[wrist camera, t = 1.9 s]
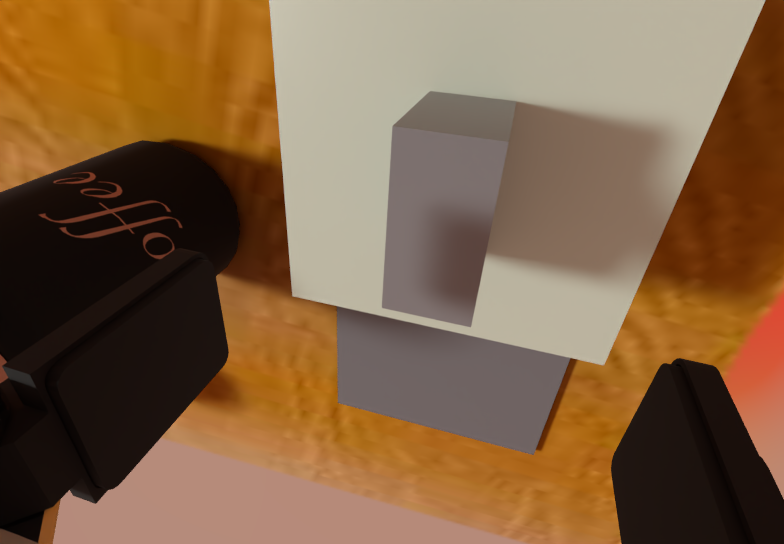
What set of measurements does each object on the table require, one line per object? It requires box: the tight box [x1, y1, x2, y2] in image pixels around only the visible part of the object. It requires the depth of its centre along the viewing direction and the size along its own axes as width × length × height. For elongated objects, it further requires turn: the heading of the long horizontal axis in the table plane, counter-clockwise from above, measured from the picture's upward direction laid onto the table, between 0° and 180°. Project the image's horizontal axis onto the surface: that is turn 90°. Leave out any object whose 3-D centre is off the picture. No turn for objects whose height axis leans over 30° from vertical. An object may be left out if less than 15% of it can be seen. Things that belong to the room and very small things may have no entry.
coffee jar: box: [0, 140, 240, 383], centre depth 26 cm, size 11×11×18 cm
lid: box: [269, 0, 765, 365], centre depth 16 cm, size 15×15×7 cm
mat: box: [337, 306, 570, 455], centre depth 34 cm, size 17×17×1 cm
